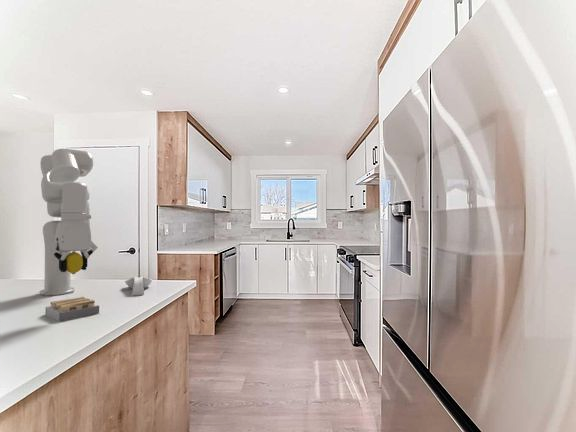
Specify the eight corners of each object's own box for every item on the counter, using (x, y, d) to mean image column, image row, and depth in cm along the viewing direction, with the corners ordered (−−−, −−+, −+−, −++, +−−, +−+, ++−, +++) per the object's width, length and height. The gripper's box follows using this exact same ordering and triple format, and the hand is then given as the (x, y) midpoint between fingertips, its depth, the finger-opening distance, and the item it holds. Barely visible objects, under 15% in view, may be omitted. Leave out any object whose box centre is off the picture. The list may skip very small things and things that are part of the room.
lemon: (73, 276, 112) (74, 252, 112) (59, 275, 114) (60, 251, 114) (86, 273, 118) (87, 250, 118) (73, 272, 119) (73, 250, 119)
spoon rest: (125, 286, 163) (125, 271, 163) (151, 284, 168) (151, 270, 168) (123, 297, 142) (123, 280, 142) (153, 294, 146) (153, 278, 146)
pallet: (50, 307, 114) (50, 301, 114) (81, 301, 122) (82, 296, 123) (62, 312, 109) (62, 306, 109) (94, 306, 117) (94, 300, 117)
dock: (45, 314, 114) (45, 307, 114) (83, 307, 124) (83, 300, 124) (60, 321, 107) (60, 313, 107) (99, 313, 117) (99, 305, 117)
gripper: (95, 218, 125) (94, 266, 125) (40, 217, 111) (39, 272, 111) (105, 218, 121) (104, 268, 120) (49, 218, 107) (48, 275, 107)
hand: (73, 270), depth 116 cm, fingers closed on lemon, 5 cm apart
